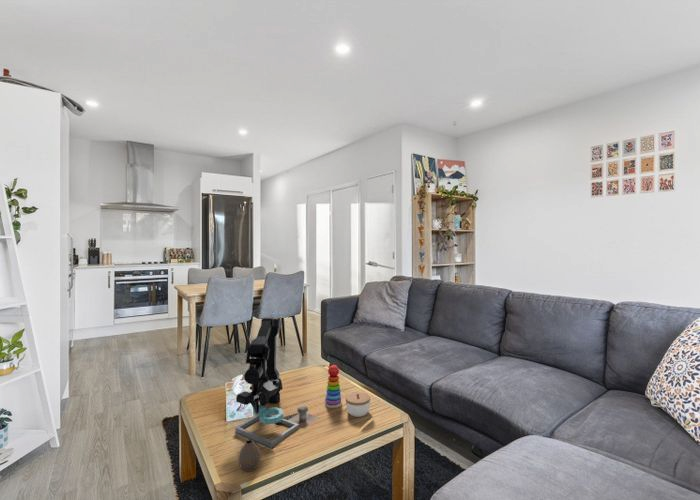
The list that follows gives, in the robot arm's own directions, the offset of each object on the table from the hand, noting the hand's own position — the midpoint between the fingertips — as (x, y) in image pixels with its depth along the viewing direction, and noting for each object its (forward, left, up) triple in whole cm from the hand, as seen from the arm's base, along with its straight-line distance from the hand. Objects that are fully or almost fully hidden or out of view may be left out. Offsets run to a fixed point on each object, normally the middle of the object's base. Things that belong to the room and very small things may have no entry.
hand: (259, 411), depth 140 cm
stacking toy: (+14, +31, -7) cm, 35 cm away
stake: (+11, +13, -7) cm, 19 cm away
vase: (+15, -19, -7) cm, 25 cm away
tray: (+4, 0, -7) cm, 8 cm away
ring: (+4, 0, -1) cm, 4 cm away
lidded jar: (+28, +30, -7) cm, 42 cm away
